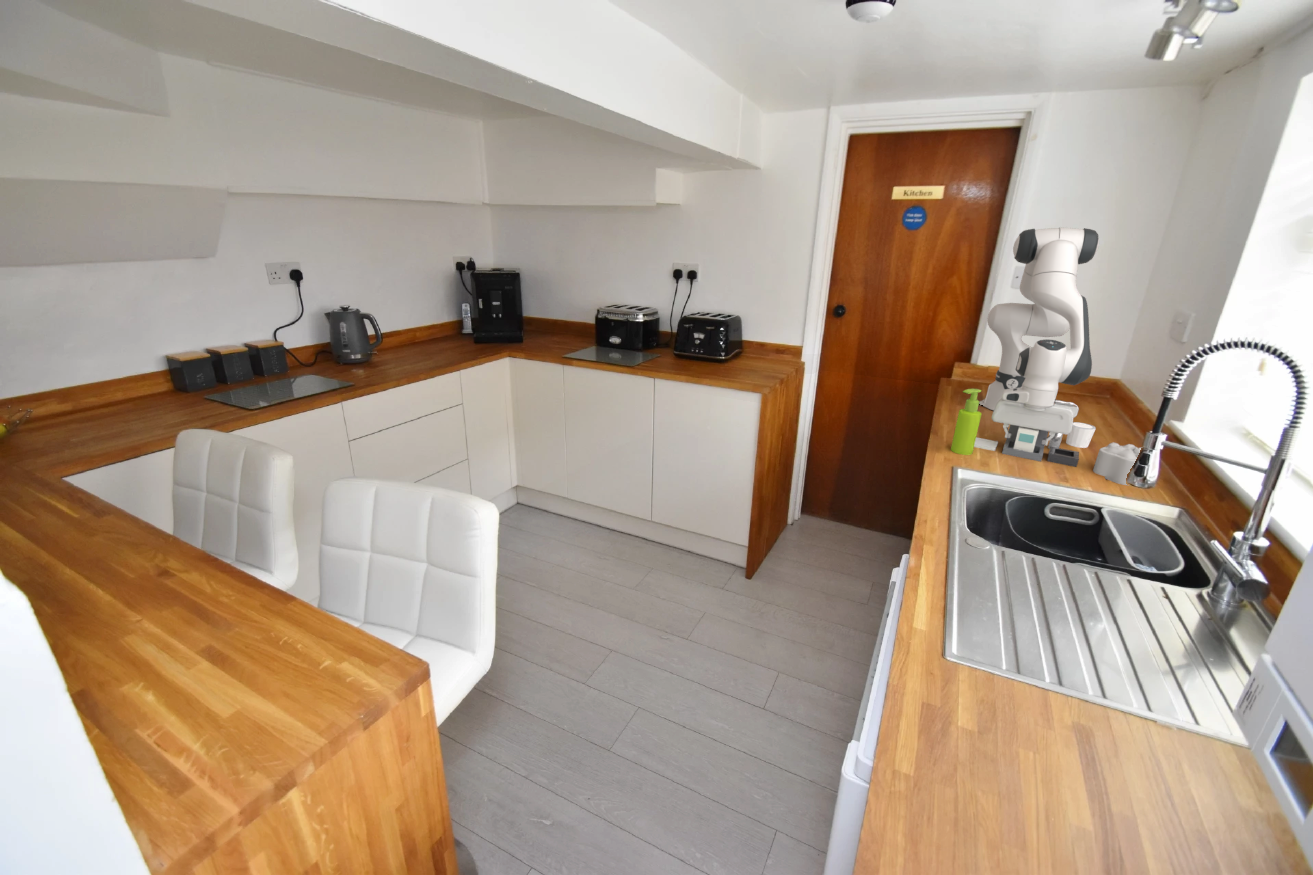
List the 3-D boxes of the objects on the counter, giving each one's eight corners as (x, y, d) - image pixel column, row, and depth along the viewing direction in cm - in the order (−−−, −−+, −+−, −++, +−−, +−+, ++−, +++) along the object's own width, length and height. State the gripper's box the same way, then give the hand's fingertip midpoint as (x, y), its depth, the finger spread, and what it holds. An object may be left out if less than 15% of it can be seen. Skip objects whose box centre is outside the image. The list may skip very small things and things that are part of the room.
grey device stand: (1004, 445, 180) (1014, 409, 175) (1042, 453, 174) (1052, 415, 170) (1001, 455, 172) (1011, 417, 168) (1040, 463, 167) (1051, 424, 162)
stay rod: (1047, 447, 179) (1054, 423, 176) (1058, 449, 177) (1065, 425, 174) (1047, 450, 177) (1054, 426, 174) (1057, 452, 175) (1065, 428, 172)
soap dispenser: (943, 451, 174) (957, 387, 167) (959, 448, 177) (973, 385, 170) (959, 458, 169) (974, 393, 162) (976, 455, 172) (991, 391, 165)
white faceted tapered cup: (1066, 440, 185) (1072, 420, 183) (1091, 446, 181) (1098, 425, 178) (1060, 445, 181) (1067, 425, 178) (1086, 451, 176) (1093, 430, 174)
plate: (972, 440, 184) (973, 436, 183) (997, 445, 180) (998, 441, 180) (968, 447, 178) (969, 443, 177) (994, 452, 174) (995, 449, 173)
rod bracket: (1047, 455, 172) (1050, 446, 171) (1076, 461, 169) (1078, 451, 168) (1046, 463, 167) (1049, 453, 166) (1075, 468, 163) (1078, 459, 162)
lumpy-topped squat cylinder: (1086, 472, 161) (1095, 443, 158) (1114, 465, 166) (1123, 437, 163) (1127, 487, 153) (1137, 457, 149) (1155, 479, 158) (1165, 450, 155)
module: (1013, 448, 176) (1020, 424, 173) (1032, 452, 173) (1039, 427, 170) (1012, 453, 172) (1018, 428, 169) (1031, 457, 169) (1038, 432, 166)
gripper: (1080, 401, 163) (1067, 446, 168) (999, 388, 174) (988, 431, 179) (1080, 406, 158) (1067, 452, 163) (996, 393, 169) (986, 436, 174)
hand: (1025, 441), depth 171 cm, fingers open, 8 cm apart
